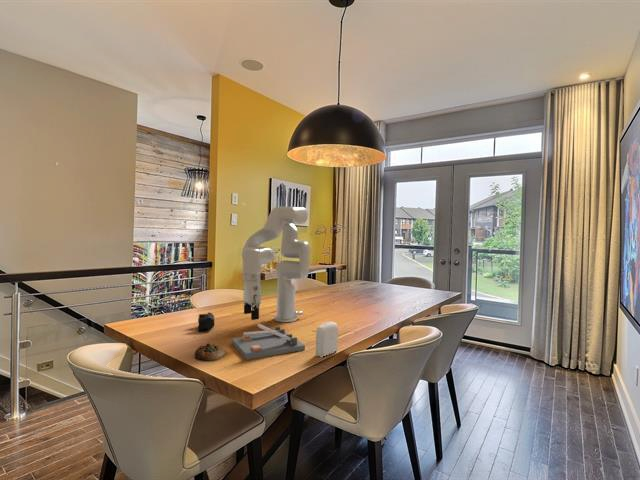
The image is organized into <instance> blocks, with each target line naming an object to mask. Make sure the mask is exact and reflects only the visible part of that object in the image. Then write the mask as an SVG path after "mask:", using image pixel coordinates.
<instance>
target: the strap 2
mask: <svg viewBox="0 0 640 480" xmlns="http://www.w3.org/2000/svg"><path fill="white" fill-rule="evenodd" d="M256 326H257V327H258V328H259V329H262V330H263V331H268V332H270V333H273V334H275V335H277V336H280V337H282V338H284V339H287V340H289V341H290V342H291V338H292V337H293V336H292V337H288V336H286V335H284V334H281V333H279V332H277V331H274V330H275V329H271V328H270V327H267V326H265V325H263V324H261V323H257V325H256Z"/></svg>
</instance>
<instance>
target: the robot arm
mask: <svg viewBox="0 0 640 480" xmlns="http://www.w3.org/2000/svg"><path fill="white" fill-rule="evenodd" d="M308 219H309V213H308V210H307V208H305V207H303V206H302V207H300V206H298V207H297V206H276V207H273V208H272V209H271V211H270V213H269V214H268V217H267V219H266V221H265V224H264V226H263V227H261V229H259V230H257V231H255V232H254V233H252V235H250V236H249V237H248V238H247V240H246V242H245V243H244V246H243V248H242V251H241V258H242V281H243V282H244V283H243V300H244V301H243V314H244V315H248V314H250V319H251V321H254V320H255V321H256V320H259V319H260V305H261V304H262V293H261V273H262V271H261V269H262V268H261V265H262V264H263V265H267V264H270V263H271V262H273V260H274V257H275V253H274V250H273V249H272V248H270V247H267V246H260V245H262V244H264V243H267V242H270V241H273V240H276V239H277V238H279V237H280V235H281V246H280V254H281V256H282V257H283V258H288V259H299V260H298V261H297V260H284V259H283V260H280V261H278V262H277V263H276V267H275V272H276V278H277V279H276V280H277V289H276V291H277V292H276V293H277V294H276V295H277V296H276V315H273V320H274V321H275V322H280V323H292V322H296V321H297V320H298V316H302V315H304V312H303V310H301V311H299V310H296V308H295V307H296V285H295V283H294V281H293V280H301V281H302V280H306V279H307V278H308V276H309V271H310V261H311V245H310V243H309V242H308V241H306V240H305V241H304V240H299V231H298V228H297V227H296V225H299V224H300V225H301V224H305V223H307V221H308ZM281 232H282V234H281Z"/></svg>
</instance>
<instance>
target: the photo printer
mask: <svg viewBox="0 0 640 480" xmlns="http://www.w3.org/2000/svg"><path fill="white" fill-rule="evenodd" d="M338 332H339V327H338V323H336V322H333V321H325V322H323V323H321V324H320V325H319V326H317V328H316V331H315V355H316V357H318V356H320V357H319V358H324V357H323V356H325V357H327V356H329V354H330V355H332V354H333V353H336V352H338V342H339V340H338V339H339V338H338V334H339V333H338ZM335 351H336V352H335ZM331 353H332V354H331ZM326 355H327V356H326ZM321 356H322V357H321Z"/></svg>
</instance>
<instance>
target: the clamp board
mask: <svg viewBox="0 0 640 480" xmlns="http://www.w3.org/2000/svg"><path fill="white" fill-rule="evenodd" d="M277 329H280V330H279V333H281V334H284V335H286V336H288V337H292V338H291V342H290V341H289V340H287V339H284V338H282V337H280V336H277V335H275V334H273V335H261V336H250V337H245V336H241V337H235V338H234V337H233V338H231V345H232V346H233V347H234V348H235V349H236V350H237V352H238V353H240V354H241V355H242V357H243V358H244V359H245V360H246V361H249V360H255V359H261V358H268V357H273V356H278V355H284V353H285V354H290V352H291V353H296V352H295V351H297V352H302V351H305V350H306V349H305V348H306V345H305V344H304V343H303V342H301V341H299V340H298V337H296V336H294V337H293V334H292V333H288V332H286V331H285V329H284V328H282V329H281V326H279V325H278V326H275V328H274V330H277ZM301 350H302V351H301Z"/></svg>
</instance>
